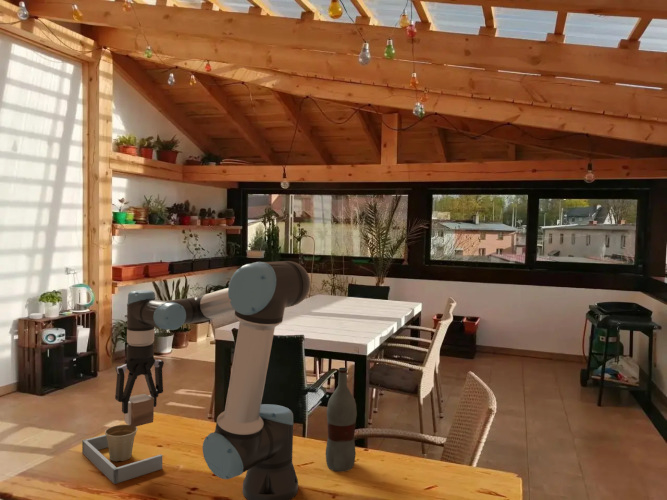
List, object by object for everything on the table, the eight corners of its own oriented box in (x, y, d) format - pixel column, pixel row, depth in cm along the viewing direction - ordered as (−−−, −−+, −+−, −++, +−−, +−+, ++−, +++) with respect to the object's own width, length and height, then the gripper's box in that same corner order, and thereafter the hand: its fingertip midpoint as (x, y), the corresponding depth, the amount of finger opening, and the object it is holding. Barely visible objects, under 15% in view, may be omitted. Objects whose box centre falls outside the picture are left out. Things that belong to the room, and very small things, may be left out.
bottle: (339, 456, 164) (342, 362, 162) (361, 465, 157) (364, 368, 156) (318, 465, 157) (321, 368, 156) (340, 475, 150) (343, 374, 149)
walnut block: (153, 422, 152) (153, 398, 151) (133, 427, 147) (133, 403, 147) (144, 415, 156) (144, 393, 155) (124, 420, 152) (125, 397, 151)
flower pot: (142, 451, 163) (143, 425, 163) (128, 465, 154) (128, 437, 153) (114, 450, 164) (114, 423, 163) (98, 463, 154) (98, 435, 154)
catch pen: (162, 468, 152) (162, 455, 152) (114, 484, 142) (114, 470, 142) (126, 440, 171) (127, 429, 171) (82, 452, 161) (82, 440, 161)
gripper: (165, 336, 160) (164, 409, 161) (102, 345, 146) (101, 424, 148) (176, 341, 154) (175, 416, 155) (112, 350, 141) (111, 432, 142)
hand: (139, 420), depth 151 cm, fingers closed on walnut block, 6 cm apart
